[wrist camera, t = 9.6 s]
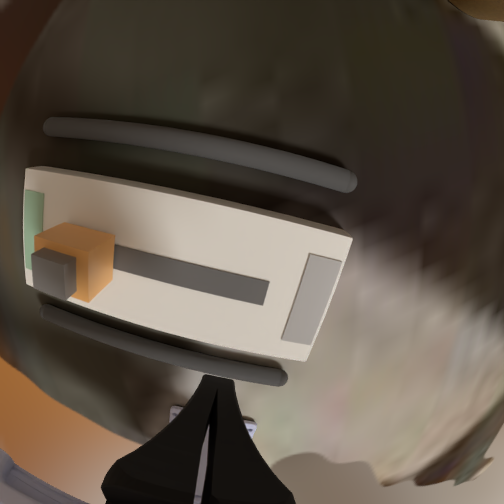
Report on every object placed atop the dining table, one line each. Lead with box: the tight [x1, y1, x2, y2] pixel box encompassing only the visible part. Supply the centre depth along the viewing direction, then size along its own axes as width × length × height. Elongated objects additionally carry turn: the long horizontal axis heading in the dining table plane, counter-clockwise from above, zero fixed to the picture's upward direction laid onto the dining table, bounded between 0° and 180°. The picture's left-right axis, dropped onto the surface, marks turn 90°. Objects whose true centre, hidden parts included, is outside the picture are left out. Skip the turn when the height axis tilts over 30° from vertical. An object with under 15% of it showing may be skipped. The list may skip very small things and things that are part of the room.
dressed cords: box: [40, 117, 357, 387], centre depth 18 cm, size 16×21×1 cm
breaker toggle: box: [31, 222, 115, 303], centre depth 14 cm, size 3×4×4 cm
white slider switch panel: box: [23, 166, 353, 362], centre depth 18 cm, size 9×22×2 cm, turn 77°
